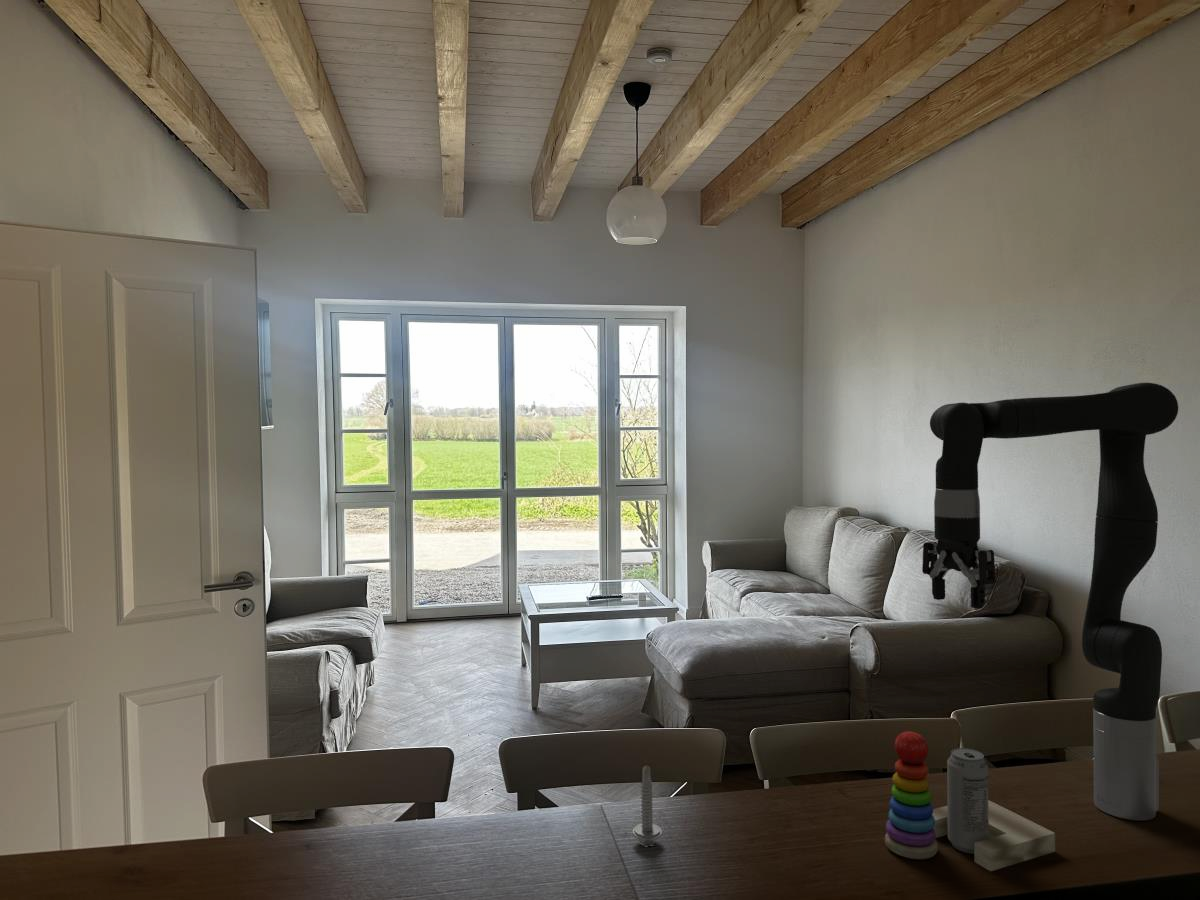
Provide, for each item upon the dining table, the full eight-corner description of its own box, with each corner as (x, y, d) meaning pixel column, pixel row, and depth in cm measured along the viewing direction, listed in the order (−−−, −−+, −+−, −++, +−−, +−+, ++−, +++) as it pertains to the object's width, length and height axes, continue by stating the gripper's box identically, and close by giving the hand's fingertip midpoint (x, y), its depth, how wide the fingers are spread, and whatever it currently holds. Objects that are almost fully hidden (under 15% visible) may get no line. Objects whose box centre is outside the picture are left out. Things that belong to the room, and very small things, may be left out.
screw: (665, 838, 132) (657, 853, 128) (637, 834, 134) (629, 848, 129) (664, 761, 132) (656, 773, 127) (636, 757, 134) (628, 769, 129)
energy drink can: (974, 835, 132) (973, 745, 132) (996, 853, 126) (996, 760, 126) (940, 838, 131) (939, 747, 131) (961, 857, 125) (961, 762, 125)
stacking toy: (943, 864, 123) (942, 744, 123) (889, 859, 125) (887, 740, 125) (932, 838, 131) (931, 725, 131) (881, 834, 133) (880, 723, 132)
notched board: (982, 813, 139) (981, 796, 139) (1055, 851, 126) (1054, 833, 126) (920, 830, 134) (920, 812, 134) (990, 871, 121) (990, 851, 121)
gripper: (1005, 516, 138) (1006, 609, 138) (941, 509, 151) (942, 594, 151) (973, 518, 135) (974, 613, 135) (911, 511, 148) (912, 598, 148)
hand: (957, 603), depth 143 cm, fingers open, 8 cm apart
